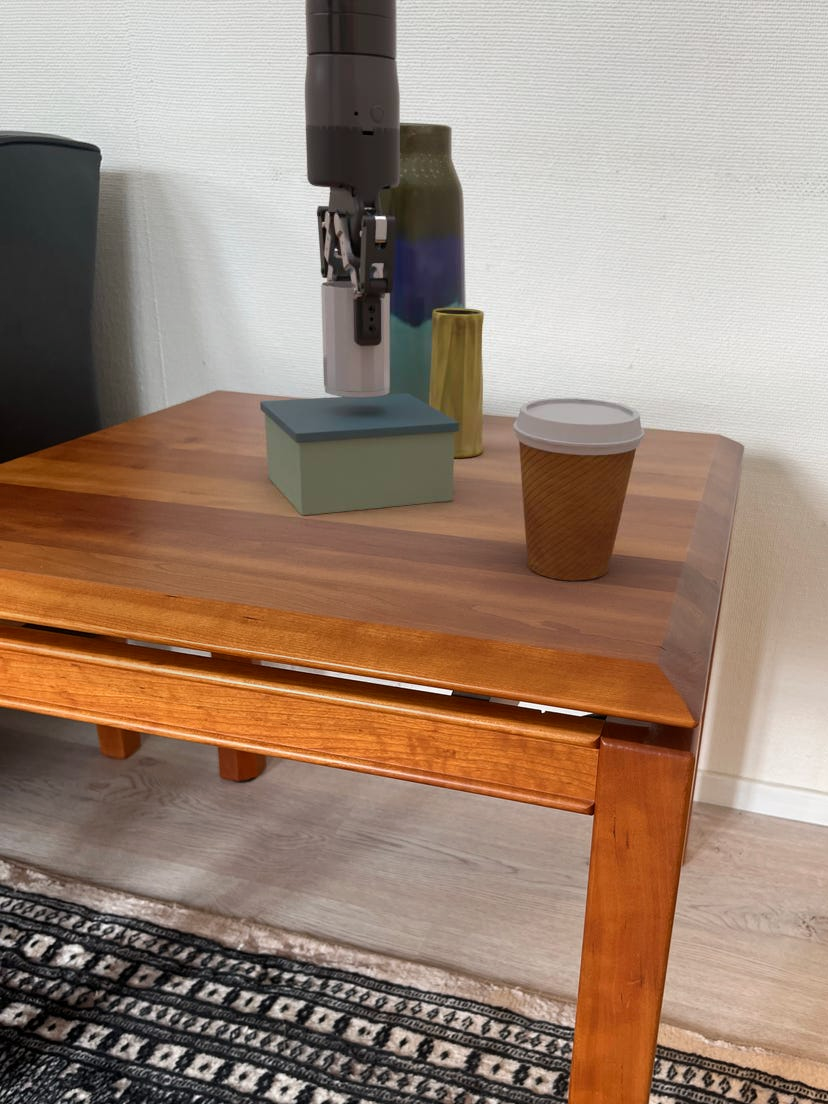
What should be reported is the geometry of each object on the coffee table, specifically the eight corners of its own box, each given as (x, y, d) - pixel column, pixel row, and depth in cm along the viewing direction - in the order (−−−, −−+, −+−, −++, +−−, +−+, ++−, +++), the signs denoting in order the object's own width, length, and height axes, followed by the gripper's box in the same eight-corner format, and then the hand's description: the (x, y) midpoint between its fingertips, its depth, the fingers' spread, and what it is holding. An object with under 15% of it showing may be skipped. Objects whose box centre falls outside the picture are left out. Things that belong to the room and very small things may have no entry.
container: (299, 517, 87) (296, 433, 84) (264, 477, 97) (260, 401, 94) (457, 501, 92) (459, 422, 89) (407, 465, 103) (408, 393, 100)
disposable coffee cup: (627, 595, 74) (644, 430, 69) (497, 582, 75) (504, 420, 70) (632, 551, 82) (648, 401, 77) (515, 540, 84) (523, 392, 78)
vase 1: (437, 434, 115) (443, 122, 101) (327, 419, 119) (319, 119, 106) (481, 410, 126) (491, 128, 113) (380, 397, 131) (378, 125, 117)
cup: (335, 399, 87) (333, 289, 84) (316, 386, 92) (313, 281, 88) (399, 395, 90) (399, 288, 86) (377, 383, 94) (376, 280, 91)
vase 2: (438, 460, 105) (441, 316, 99) (417, 445, 110) (418, 307, 104) (492, 456, 107) (498, 314, 101) (469, 441, 112) (473, 306, 106)
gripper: (283, 121, 86) (292, 327, 93) (334, 119, 74) (339, 354, 82) (368, 126, 89) (370, 325, 96) (429, 124, 77) (426, 351, 85)
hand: (356, 338), depth 89 cm, fingers closed on cup, 6 cm apart
